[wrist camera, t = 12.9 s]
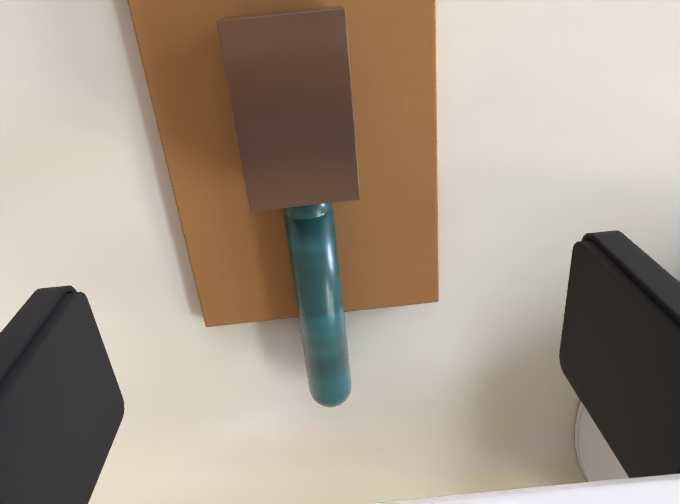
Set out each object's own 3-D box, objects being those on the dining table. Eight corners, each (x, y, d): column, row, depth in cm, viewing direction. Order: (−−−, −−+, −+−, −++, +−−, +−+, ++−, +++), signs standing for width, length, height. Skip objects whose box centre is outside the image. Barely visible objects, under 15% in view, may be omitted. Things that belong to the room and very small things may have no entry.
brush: (228, 14, 22) (216, 20, 19) (339, 3, 22) (345, 7, 19) (291, 392, 30) (290, 439, 27) (370, 383, 30) (378, 429, 27)
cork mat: (98, -145, 20) (91, -149, 19) (429, -177, 20) (433, -182, 19) (208, 318, 29) (205, 327, 28) (435, 293, 29) (438, 301, 28)
